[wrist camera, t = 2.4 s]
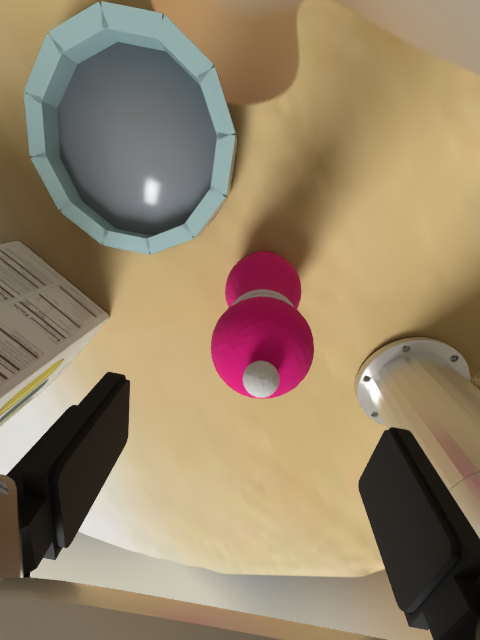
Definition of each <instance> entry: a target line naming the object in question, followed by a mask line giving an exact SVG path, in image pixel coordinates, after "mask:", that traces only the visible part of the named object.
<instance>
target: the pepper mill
mask: <svg viewBox="0 0 480 640" xmlns="http://www.w3.org/2000/svg"><path fill="white" fill-rule="evenodd" d="M225 295H226V300H227V304H228V306H229V308H228V309H227V311H226V312H225V313H224V314H223V315H222V316H221V317H220V319H219V320H218V322H217V324H216V327H215V329H214V331H213V335H212V341H211V354H212V360H213V363H214V366H215V368H216V371H217V372H218V374H219V376H220V377H221V378H222V379H223V381H224V382H225V383H226V384H227V385H228V386H229V387H231V388H232V389H233V390H235V391H236V392H238V393H240V394H242V395H245V396H248V397H251V398H259V399H265V398H273V397H277V396H281V395H283V394H285V393H287V392H289V391H291V390H292V389H294V388H295V387H296V386H297V385H298V384H299V383H300V382H301V381H302V380H303V379H304V378H305V376H306V375H307V373H308V371H309V369H310V367H311V364H312V360H313V355H314V344H313V336H312V333H311V329H310V327H309V325H308V323H307V321H306V320H305V318H304V317H303V316H302V315H301V314H300V312H299V311H298V310H297V308H298V305H299V302H300V299H301V284H300V279H299V276H298V274H297V271H296V270H295V268H294V267H293V266H292V265H291V264H290V263H289V262H288V261H287V260H286V259H284V258H283V257H281V256H279V255H278V254H275V253H273V252H269V251H259V252H255V253H252V254H250V255H248V256H247V257H245V258H243V259H242V260H240V261H239V262H238V263H237V264H236V265H235V266H234V267H233V269H232V270H231V272H230V274H229V276H228V279H227V282H226V290H225Z"/></svg>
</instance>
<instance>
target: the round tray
mask: <svg viewBox="0 0 480 640" xmlns="http://www.w3.org/2000/svg"><path fill="white" fill-rule="evenodd" d="M101 4H102V5H101ZM101 4H100V2H97V3H95V4H94V5H92V6H90V7H89V8H87V9H85V10H84V11H82V12H80V13H79V14H77V15H75V16H73V17H72V18H70V19H68V20H67V21H65V22H63V23H62V24H60V25H58V26H57V27H55V28H53V29H52V30H50V31H49V33H50V35H51V36H49V35H48V34H47V35H46V37H45V39H44V42H43V44H42V47H41V49H40V52H39V54H38V57H37V59H36V62H35V64H34V67H33V69H32V72H31V74H30V76H29V79H28V81H27V84H26V86H25V89H24V91H25V92H26V93H28V94H25V93H24V104H25V114H26V124H27V135H28V145H29V155H30V156H34V157H32V158H30V159H31V160H32V162H33V164H34V166H35V168H36V170H37V171H38V173H39V175H40V177H41V179H42V181H43V182H44V184H45V186H46V188H47V190H48V192H49V194H50V195H51V197H52V199H53V201H54V203H55V205H56V206H57V208H58V210H61V211H60V212H61V213H62V214H63V215H64V216H66V217H67V218H68V219H70V220H71V221H72V222H73V223H75V224H76V225H77V226H78V227H80V228H81V229H82V230H83V231H85V232H86V233H87V234H89V235H90V236H91V237H92V238H94V239H95V240H96V241H97V242H99V243H100V244H103V246H108V247H113V248H118V249H123V250H128V251H133V252H138V253H143V254H148V255H149V254H154V253H156V252H159V251H162V250H165V249H167V248H170V247H173V246H175V245H178V244H181V243H183V242H186V241H189V240H191V239H194V238H196V237H198V236H199V235H200V234H201V233H202V231H203V230H204V229H205V227H206V226H207V225H208V224H209V223H210V222H211V221H212V220H213V219H214V217H215V216H216V215H217V213H218V212H219V210H220V209H221V207H222V205H223V204H224V202H225V201H226V200H227V199H228V197H227V195H229V193H230V186H231V184H232V179H233V174H234V169H235V159H236V147H237V141H238V140H237V135H236V131H235V128H234V125H233V122H232V118H231V115H230V111H229V108H228V105H227V102H226V99H225V96H224V93H223V89H222V86H221V83H220V79H219V77H218V74H217V71H216V68H215V67H214V64H213V63H212V62H211V61H210V60H209V59H208V58H207V57H206V56H205V55H204V54H203V53H202V52H201V51H200V50H199V49H198V48H197V47H196V46H195V45H194V44H193V43H192V42H191V41H190V40H189V39H188V38H187V37H186V36H185V35H184V34H183V32H182V31H181V30H180V29H178V27H176V25H175V24H174V23H173V22H172V21H171V20H170V19H169V18H168V17H167V16H166V15H165V16H164V15H163V13H160V12H155V11H149V10H144V9H139V8H134V7H129V6H124V5H119V4H114V3H109V2H104V1H101Z"/></svg>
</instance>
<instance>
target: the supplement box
mask: <svg viewBox="0 0 480 640" xmlns="http://www.w3.org/2000/svg"><path fill="white" fill-rule="evenodd" d="M109 317H110V316H109V315H108V314H107V313H106V312H105V311H104V310H102V309H101V308H100V307H99V306H98V305H97V304H95V303H94V302H93V301H92V300H91V299H89V298H88V297H87V296H86V295H84V294H83V293H82V292H81V291H80V290H78V289H77V288H76V287H75V286H74V285H72V284H71V283H70V282H69V281H68V280H66V279H65V278H64V277H63V276H61V275H60V274H59V273H58V272H57V271H55V270H54V269H53V268H52V267H51V266H49V265H48V264H47V263H46V262H45V261H43V260H42V259H41V258H40V257H38V256H37V255H36V254H35V253H34V252H32V251H31V250H30V249H29V248H28V247H26V246H25V245H24V244H23V243H21V242H20V241H14V242H8V243H2V244H0V427H1V426H2V425H3V424H5V423H6V422H7V421H8V420H9V419H10V418H12V417H13V416H14V415H15V414H16V413H17V412H18V411H20V410H21V409H22V408H23V407H24V406H25V405H27V404H28V403H29V402H30V401H31V400H32V399H34V398H35V397H36V396H37V395H38V394H40V393H41V392H42V391H43V390H44V389H45V388H47V387H48V386H49V385H50V384H51V383H52V382H54V381H55V380H56V379H57V378H58V377H59V376H60V375H61V374H62V373H63V372H64V371H65V370H66V368H67V367H68V366H69V365H70V364H71V363H72V361H73V360H74V359H75V358H76V357H77V355H78V354H79V353H80V352H81V351H82V350H83V348H84V347H85V346H86V345H87V344H88V343H89V341H90V340H91V339H92V338H93V337H94V335H95V334H96V333H97V332H98V331H99V330H100V328H101V327H102V326H103V325H104V324H105V323H106V321H107V320H108V319H109Z"/></svg>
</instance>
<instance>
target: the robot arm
mask: <svg viewBox="0 0 480 640" xmlns="http://www.w3.org/2000/svg"><path fill="white" fill-rule="evenodd" d="M355 393H356V397H357V400H358V402H359V404H360V407H361V408H362V410H363V411H364V412H365V414H366V415H367V416H368V417H369V418H371V419H372V420H374V421H375V422H377V423H379V424H382V425H384V426H386V428H387V429H388V430H385V431H384V433H383V434H382V436H381V438H380V440H379V442H378V444H377V446H376V448H375V450H374V452H373V454H372V456H371V458H370V460H369V462H368V464H367V466H366V468H365V470H364V472H363V474H362V475H361V477H360V480H359V492H360V495H361V498H362V501H363V503H364V506H365V509H366V512H367V515H368V518H369V521H370V524H371V527H372V530H373V533H374V536H375V539H376V542H377V545H378V548H379V551H380V554H381V557H382V560H383V563H384V566H385V569H386V572H387V575H388V578H389V581H390V584H391V587H392V590H393V593H394V596H395V599H396V602H397V604H398V606H399V608H400V609H401V610H402V611H404V613H405V616H406V619H407V622H408V625H409V626H410V627H414V628H420V629H425V630H428V629H430V632H431V634H432V637H433V639H434V640H480V390H479V389H477V388H476V387H475V386H474V385H473V384H472V383H471V382H470V370H469V367H468V364H467V362H466V361H465V359H464V358H463V356H462V355H461V354H460V353H459V352H458V351H456V350H455V349H454V348H453V347H451V346H450V345H448V344H447V343H445V342H442V341H440V340H437V339H432V338H427V337H412V338H405V339H401V340H398V341H394V342H392V343H390V344H387V345H385V346H383V347H382V348H380V349H379V350H377V351H376V352H374V353H373V354H372V355H371V356H370V357H369V358H368V359H367V360H366V361H365V363H364V364H363V365H362V367H361V368H360V370H359V373H358V375H357V378H356V382H355ZM129 395H130V381H129V380H126V377H125V375H122V374H117V373H112V372H107V373H106V374H105V375H104V376H103V378H102V379H101V380H100V381H99V382H98V383H97V384H96V385H95V387H94V388H93V389H92V390H91V391H90V392H89V393H88V394H87V396H86V397H85V398H84V399H83V400H82V401H81V402H80V403H79V405H78V406H77V405H73V406H71V407H69V408H68V409H67V410H66V411H65V412H64V413H63V414H62V416H61V417H60V418H59V419H58V420H57V421H56V422H55V423H54V424H53V425H52V426H51V427H50V429H49V430H48V431H47V432H46V433H45V434H44V435H43V436H42V437H41V438H40V439H39V441H38V442H37V443H36V444H35V445H34V446H33V447H32V448H31V449H30V450H29V451H28V452H27V454H26V455H25V456H24V457H23V458H22V459H21V460H20V461H19V462H18V463H17V464H16V465H15V467H14V468H13V469H12V470H11V471H10V472H9V473H8V474H7V475H6V476H5V475H1V474H0V640H385V639H380V638H375V637H369V636H365V635H359V634H354V633H349V632H344V631H339V630H334V629H329V628H323V627H318V626H313V625H308V624H302V623H297V622H292V621H286V620H281V619H276V618H270V617H265V616H259V615H254V614H248V613H243V612H238V611H232V610H227V609H222V608H216V607H211V606H206V605H200V604H195V603H189V602H183V601H178V600H173V599H167V598H162V597H156V596H150V595H144V594H139V593H133V592H128V591H122V590H117V589H110V588H103V587H98V586H91V585H85V584H79V583H73V582H66V581H58V580H48V579H38V578H32V571H33V570H34V569H36V568H37V567H38V565H39V563H40V562H41V560H42V559H43V558H47V559H53V560H56V558H57V556H58V554H59V553H60V551H61V549H62V547H64V548H67V547H69V545H70V544H71V542H72V541H73V539H74V537H75V535H76V534H77V532H78V530H79V528H80V526H81V525H82V523H83V521H84V519H85V517H86V516H87V514H88V512H89V510H90V508H91V506H92V505H93V503H94V501H95V499H96V497H97V496H98V494H99V492H100V490H101V488H102V487H103V485H104V483H105V481H106V479H107V477H108V476H109V474H110V472H111V470H112V468H113V467H114V465H115V463H116V461H117V459H118V458H119V456H120V454H121V452H122V450H123V448H124V447H125V445H126V442H127V439H128V426H129Z"/></svg>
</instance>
